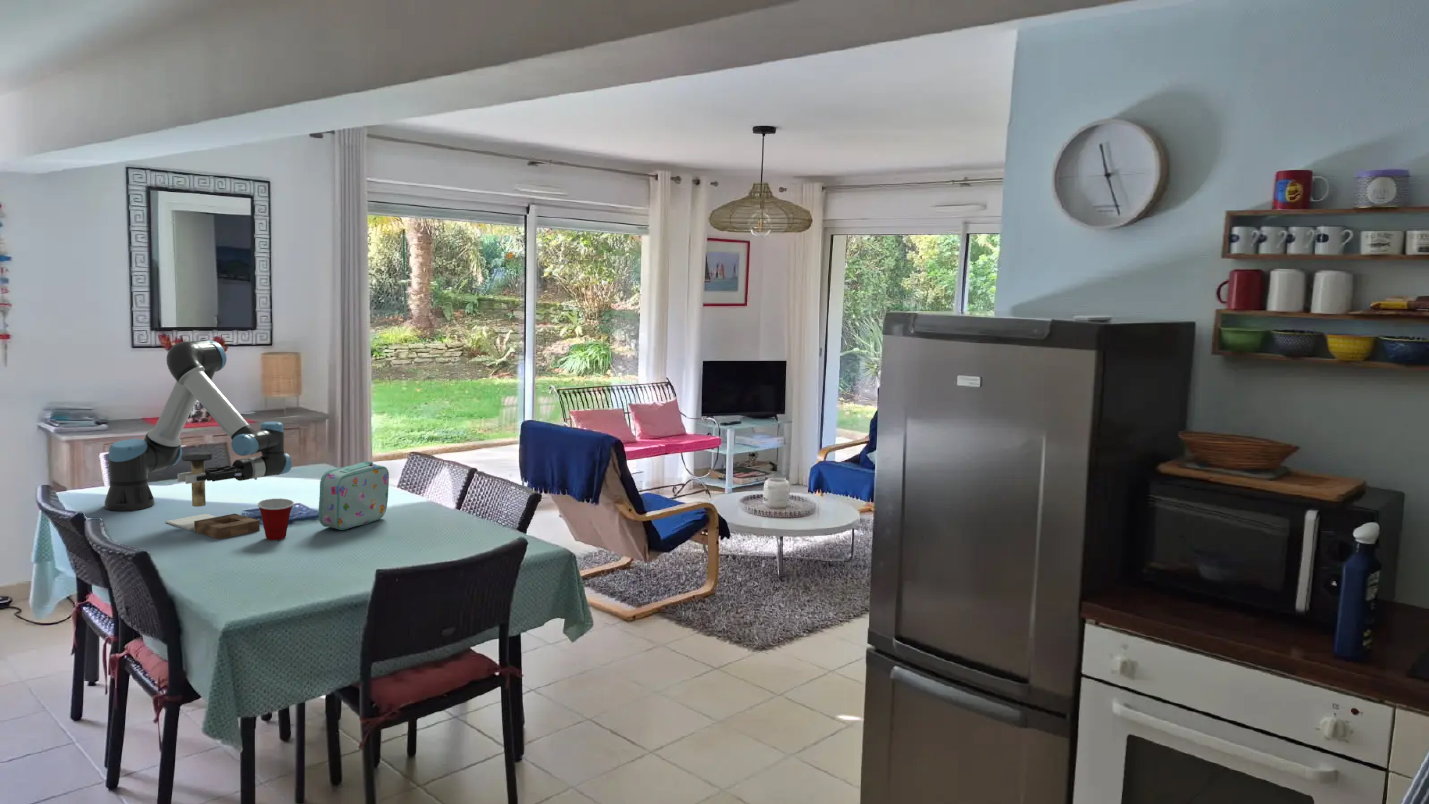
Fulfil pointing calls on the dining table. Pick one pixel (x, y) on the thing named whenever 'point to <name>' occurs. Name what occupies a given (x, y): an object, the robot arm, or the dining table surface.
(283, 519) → the plastic cup
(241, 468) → the robot arm
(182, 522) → the pad
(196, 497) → the mushroom top post
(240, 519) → the eye block
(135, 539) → the dining table surface
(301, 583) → the dining table surface
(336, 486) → the lunch box
